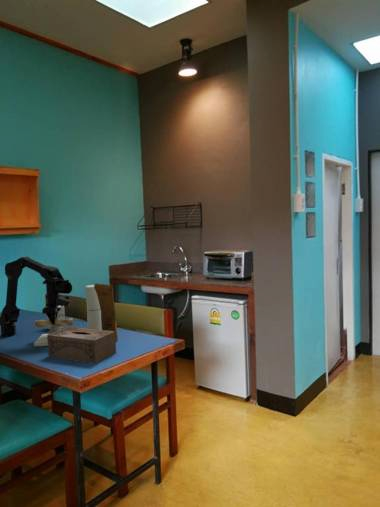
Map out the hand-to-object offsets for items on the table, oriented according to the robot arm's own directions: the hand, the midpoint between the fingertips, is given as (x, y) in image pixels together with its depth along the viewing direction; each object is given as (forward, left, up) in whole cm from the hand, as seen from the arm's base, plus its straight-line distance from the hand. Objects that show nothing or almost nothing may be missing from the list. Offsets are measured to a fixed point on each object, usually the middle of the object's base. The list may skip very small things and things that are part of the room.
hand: (54, 323), depth 200 cm
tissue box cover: (+17, -25, -9) cm, 32 cm away
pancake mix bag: (+27, -2, -9) cm, 28 cm away
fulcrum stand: (0, 0, -9) cm, 9 cm away
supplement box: (-5, +25, -9) cm, 27 cm away
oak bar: (0, 0, -1) cm, 1 cm away
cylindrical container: (+18, +12, -9) cm, 23 cm away
